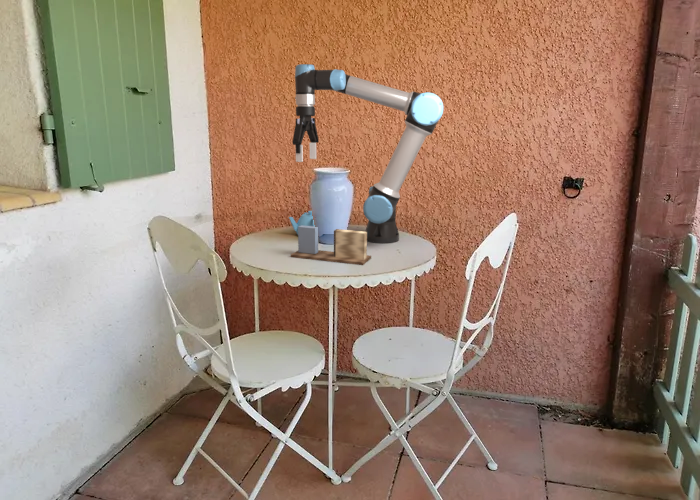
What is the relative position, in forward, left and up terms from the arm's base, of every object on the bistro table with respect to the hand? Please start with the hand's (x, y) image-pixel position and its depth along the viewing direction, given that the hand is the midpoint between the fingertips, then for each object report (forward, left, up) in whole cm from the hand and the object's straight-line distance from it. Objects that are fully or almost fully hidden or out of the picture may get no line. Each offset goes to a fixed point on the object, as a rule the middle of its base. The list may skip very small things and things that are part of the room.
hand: (306, 160), depth 220 cm
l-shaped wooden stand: (0, +25, -34) cm, 43 cm away
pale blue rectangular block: (+6, +18, -33) cm, 38 cm away
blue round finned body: (-7, -14, -35) cm, 38 cm away
